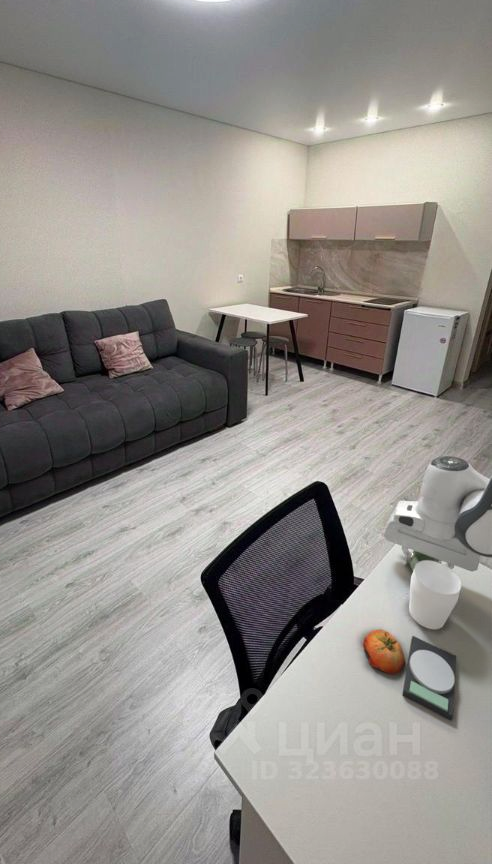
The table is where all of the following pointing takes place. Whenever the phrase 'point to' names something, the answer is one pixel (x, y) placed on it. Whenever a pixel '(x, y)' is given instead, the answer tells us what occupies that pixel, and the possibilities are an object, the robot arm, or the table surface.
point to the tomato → (384, 651)
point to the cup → (433, 593)
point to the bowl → (420, 559)
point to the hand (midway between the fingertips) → (424, 566)
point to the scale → (430, 677)
